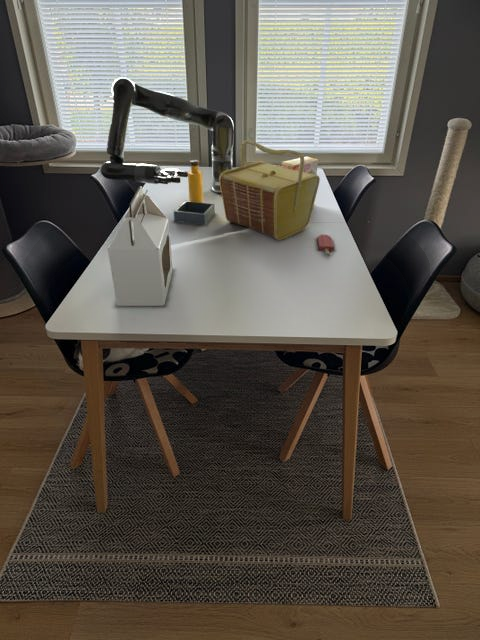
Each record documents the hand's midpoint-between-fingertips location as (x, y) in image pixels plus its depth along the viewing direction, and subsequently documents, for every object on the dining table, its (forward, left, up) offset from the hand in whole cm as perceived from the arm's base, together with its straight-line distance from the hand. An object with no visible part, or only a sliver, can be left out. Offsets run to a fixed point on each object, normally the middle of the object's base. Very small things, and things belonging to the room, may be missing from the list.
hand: (184, 177), depth 185 cm
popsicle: (-26, +61, -13) cm, 68 cm away
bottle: (-3, +4, -12) cm, 13 cm away
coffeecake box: (-42, +23, -13) cm, 49 cm away
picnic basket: (-19, +35, -13) cm, 42 cm away
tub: (+2, +14, -12) cm, 19 cm away
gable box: (+39, +57, -13) cm, 70 cm away
